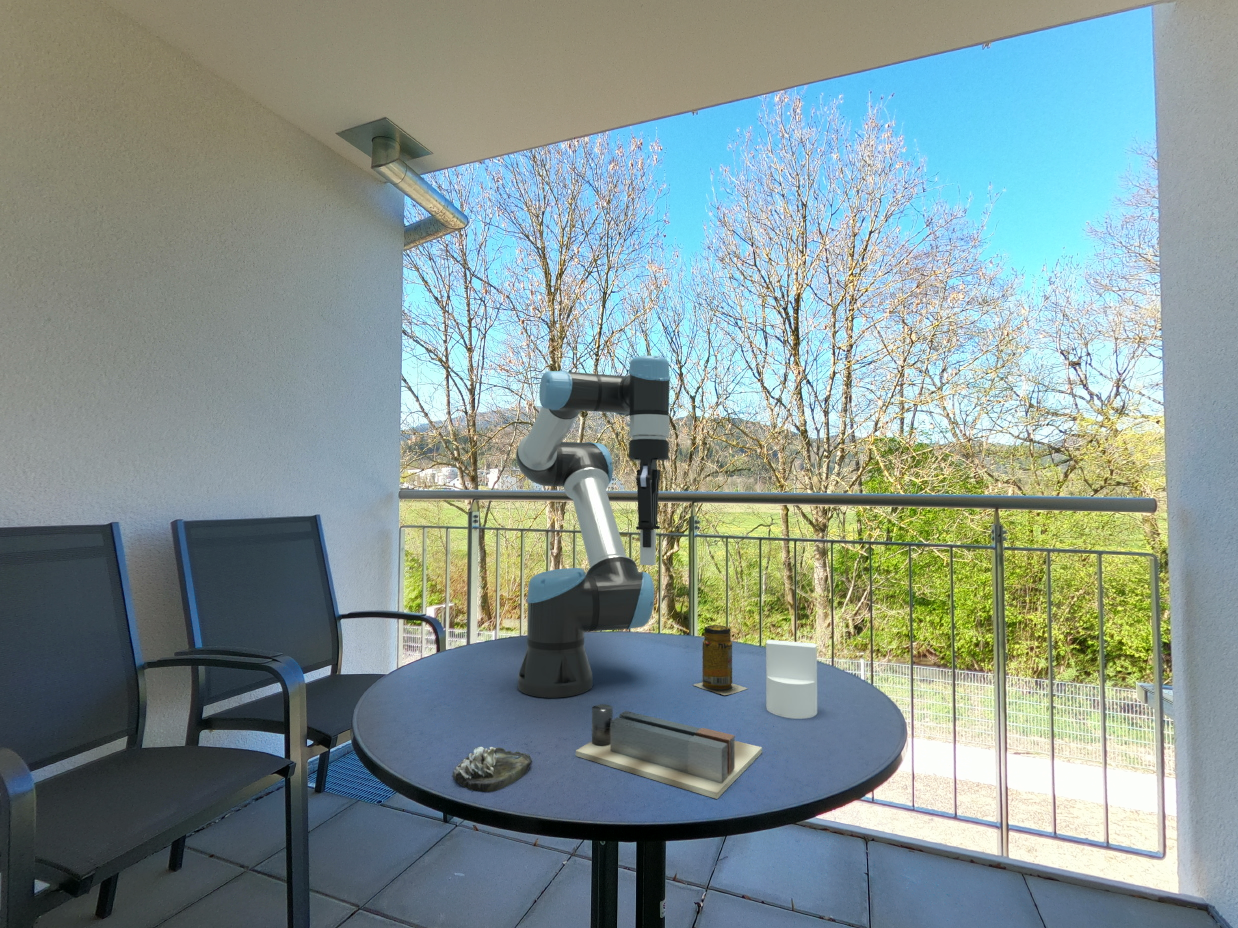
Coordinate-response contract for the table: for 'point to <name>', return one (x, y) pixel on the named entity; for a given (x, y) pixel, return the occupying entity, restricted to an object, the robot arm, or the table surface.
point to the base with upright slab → (791, 679)
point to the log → (491, 769)
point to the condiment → (718, 661)
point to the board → (603, 755)
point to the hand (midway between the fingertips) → (647, 564)
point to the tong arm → (688, 733)
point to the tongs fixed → (660, 745)
